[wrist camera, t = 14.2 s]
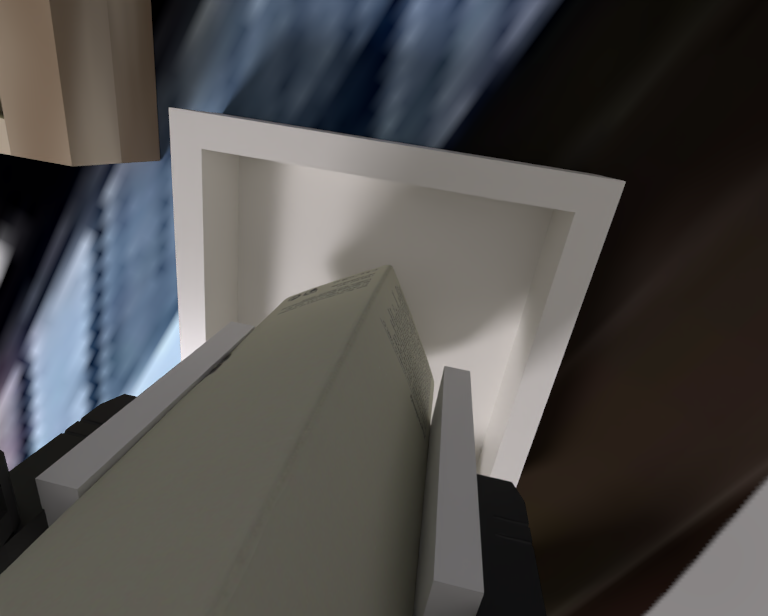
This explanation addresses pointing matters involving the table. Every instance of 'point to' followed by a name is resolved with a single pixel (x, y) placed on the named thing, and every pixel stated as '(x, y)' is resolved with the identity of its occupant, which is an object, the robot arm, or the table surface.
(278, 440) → the box
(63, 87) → the tan shallow open box
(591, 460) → the table surface
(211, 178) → the white square tray
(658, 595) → the table surface
